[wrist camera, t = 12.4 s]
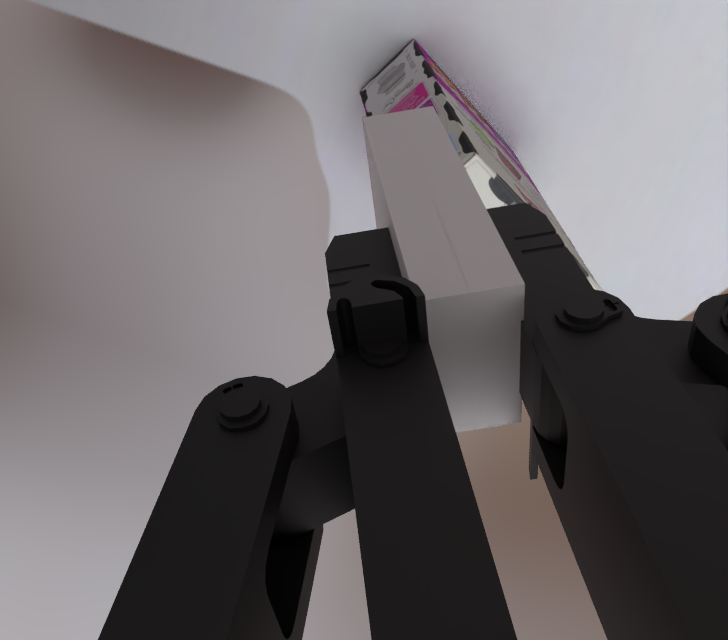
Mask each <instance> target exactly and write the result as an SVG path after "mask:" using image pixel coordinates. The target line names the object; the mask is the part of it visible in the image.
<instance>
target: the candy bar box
mask: <svg viewBox="0 0 728 640" xmlns="http://www.w3.org/2000/svg"><path fill="white" fill-rule="evenodd" d="M360 95H361V98H362V101H363V105H364V108H365V111H366V115H367V117H369V116H375V115H382V114H388V113H394V112H400V111H406V110H412V109H418V108H424V107H430V106H433V107H434V109H435V111H436V113H437V115H438V117H439V119H440V121H441V123H442V125H443V127H444V129H445V130H446V132H447V134H448V136H449V138H450V140H451V142H452V144H453V146H454V148H455V150H456V152H457V154H458V156H459V158H460V159H461V161H462V163H463V165H464V167H465V169H466V171H467V173H468V175H469V177H470V179H471V181H472V183H473V185H474V186H475V188H476V190H477V192H478V194H479V196H480V198H481V200H482V202H483V204H484V206H485V208H486V209H489V208H495V207H501V206H507V205H513V204H519V203H527V204H529V205H530V206H532V207H534V208H535V209H537V210H539V211H541V212H542V213H544V214H546V216H547V217H548V219H549V221H550V222H551V224H552V225H553V227H554V228H555V230H556V234H559V236H560V237H561V239H562V241H563V242H564V245H565V247H567V248H568V250H569V251H570V253H571V254H572V256H573V257H574V259H575V261H576V262H577V264H578V265H579V267H580V268H581V270H582V271H583V273H584V274H585V276H586V277H587V279H588V281H589V282H590V284H591V285H592V287H593V288H594V289H595V290H600V291H602V289H601V288H600V286H599V285H598V283H597V282H596V281H595V279H594V278H593V276H592V274H591V273H590V271H589V270H588V269H587V267H586V266H585V264H584V263H583V261H582V259H581V257H580V256H579V254H578V252H577V251H576V249H575V247H574V246H573V244H572V243H571V241H570V239H569V238H568V236H567V235H566V233H565V232H564V230H563V229H562V227H561V225H560V224H559V222H558V221H557V219H556V218H555V216H554V215H553V213H552V211H551V210H550V208H549V207H548V205H547V203H546V202H545V200H544V199H543V197H542V196H541V194H540V193H539V191H538V189H537V188H536V186H535V185H534V183H533V182H532V180H531V178H530V177H529V175H528V174H527V172H526V171H525V169H524V168H523V166H522V165H521V163H520V162H519V160H518V158H517V157H516V155H515V154H514V152H513V151H512V150H511V149H510V148H509V146H508V145H507V144H506V143H505V142H504V141H503V140H502V138H501V137H500V136H499V135H498V134H497V133H496V131H495V130H494V129H493V128H492V127H491V126H490V125H489V124H488V122H487V121H486V120H485V119H484V118H483V117H482V116H481V114H480V113H479V112H478V111H477V110H476V109H475V108H474V106H473V105H472V104H471V103H470V102H469V101H468V100H467V99H466V97H465V96H464V95H463V94H462V93H461V92H460V91H459V89H458V88H457V87H456V86H455V85H454V84H453V83H452V82H451V80H450V79H449V78H448V77H447V76H446V75H445V74H444V72H443V71H442V70H441V69H440V68H439V67H438V66H437V64H436V63H435V62H434V61H433V60H432V59H431V58H430V56H429V55H428V54H427V53H426V52H425V51H424V49H423V48H422V47H421V46H420V45H419V44H418V43H417V41H416V40H412V41H411V42H410V43H409V44H408V45H407V46H406V47H405V48H404V49H403V50H402V51H401V52H400V53H399V54H398V55H397V56H396V57H395V58H394V59H393V60H392V61H391V62H390V63H389V64H388V65H387V66H386V67H385V68H384V69H383V70H382V71H381V72H380V73H379V74H377V75H376V76H375V77H374V78H373V79H371V81H370V82H369V83H368V84H367V85H366V86H365V87H364V88H363V89H362V90H361V91H360Z"/></svg>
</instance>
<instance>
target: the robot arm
mask: <svg viewBox="0 0 728 640" xmlns="http://www.w3.org/2000/svg"><path fill="white" fill-rule="evenodd" d="M363 126H364V133H365V141H366V149H367V156H368V164H369V172H370V179H371V187H372V195H373V203H374V210H375V218H376V226H377V229H375V230H369V231H363V232H357V233H351V234H345V235H339V236H334V238H333V240H332V242H331V243H330V245H329V247H328V249H327V251H326V253H325V257H326V265H327V272H328V281H329V289H330V297H331V298H330V300H329V304H328V309H327V315H328V320H329V325H330V329H331V335H332V340H333V344H334V350H335V351H334V354H333V356H332V358H331V359H330V360H329V362H328V363H327V364H326V365H325V367H324V368H322V369H321V370H320V371H319V372H317V373H316V374H315V375H313V376H311V377H310V378H308V379H306V380H304V381H302V382H300V383H297V384H295V385H293V386H290V387H288V388H285V386H284V385H282V384H280V383H278V382H277V381H275V380H273V379H272V378H265V377H258V376H252V377H244V378H238V379H234V380H232V381H230V382H227V383H224V384H222V385H220V386H218V387H217V388H215V389H214V390H213V391H212V392H211V393H209V394H208V395H206V396H205V397H204V398H203V400H202V401H201V403H200V404H199V406H198V407H197V409H196V410H195V412H194V415H193V417H192V420H191V422H190V424H189V427H188V429H187V431H186V434H185V436H184V438H183V441H182V443H181V445H180V448H179V450H178V453H177V455H176V457H175V459H174V462H173V464H172V466H171V469H170V471H169V474H168V476H167V478H166V481H165V483H164V485H163V488H162V490H161V492H160V495H159V497H158V499H157V502H156V504H155V506H154V509H153V511H152V514H151V516H150V518H149V521H148V523H147V525H146V528H145V530H144V533H143V535H142V537H141V539H140V542H139V544H138V547H137V549H136V551H135V554H134V556H133V558H132V561H131V563H130V565H129V568H128V570H127V572H126V575H125V577H124V580H123V582H122V585H121V587H120V589H119V591H118V594H117V596H116V598H115V601H114V603H113V606H112V608H111V610H110V613H109V615H108V617H107V620H106V622H105V624H104V627H103V629H102V631H101V634H100V636H99V638H98V640H302V636H303V631H304V626H305V621H306V616H307V611H308V606H309V601H310V596H311V591H312V586H313V580H314V575H315V570H316V565H317V560H318V555H319V550H320V545H321V539H322V534H323V524H324V523H326V522H328V521H330V520H332V519H334V518H336V517H338V516H340V515H342V514H345V513H347V512H349V511H351V510H352V509H355V511H356V519H357V527H358V534H359V543H360V551H361V559H362V566H363V575H364V582H365V590H366V598H367V606H368V614H369V622H370V630H371V638H372V640H517V638H516V634H515V631H514V627H513V624H512V620H511V617H510V614H509V610H508V607H507V603H506V600H505V597H504V594H503V590H502V587H501V584H500V580H499V576H498V573H497V570H496V566H495V563H494V560H493V556H492V553H491V550H490V546H489V543H488V540H487V536H486V533H485V529H484V526H483V522H482V519H481V516H480V513H479V509H478V506H477V502H476V499H475V496H474V492H473V489H472V485H471V482H470V479H469V475H468V472H467V469H466V465H465V462H464V459H463V455H462V452H461V449H460V445H459V442H458V438H457V435H456V433H458V432H464V431H469V430H476V429H482V428H487V427H493V426H499V425H505V424H511V423H517V422H521V412H522V400H523V402H524V404H525V407H526V409H527V412H528V414H529V416H530V419H531V427H530V452H529V472H530V479H537V475H538V465H539V468H540V470H541V472H542V475H543V477H544V480H545V483H546V485H547V488H548V490H549V493H550V495H551V498H552V500H553V503H554V505H555V508H556V510H557V513H558V515H559V518H560V521H561V523H562V526H563V528H564V531H565V533H566V536H567V538H568V541H569V543H570V546H571V548H572V551H573V553H574V556H575V558H576V561H577V563H578V566H579V569H580V571H581V574H582V576H583V579H584V581H585V583H586V586H587V589H588V591H589V594H590V596H591V599H592V601H593V604H594V606H595V609H596V611H597V614H598V616H599V619H600V622H601V624H602V626H603V629H604V631H605V634H606V637H607V639H608V640H728V294H723V295H718V296H713V297H711V298H709V299H707V300H706V301H704V302H702V303H701V304H700V305H699V307H698V308H697V310H696V312H695V314H694V318H693V321H674V320H655V319H647V318H640V317H636V316H634V314H633V313H632V311H631V310H630V308H629V307H628V306H627V305H626V304H624V303H623V302H622V301H621V300H620V299H619V298H617V297H615V296H613V295H611V294H609V293H606V292H604V291H600V290H595V289H594V288H593V287H592V285H591V284H590V282H589V281H588V279H587V277H586V276H585V274H584V273H583V271H582V270H581V268H580V267H579V265H578V264H577V262H576V261H575V259H574V257H573V256H572V254H571V253H570V251H569V250H568V248H567V247H565V245H564V242H563V241H562V239H561V237H560V236H559V234H556V230H555V228H554V227H553V225H552V224H551V222H550V221H549V219H548V217H547V216H546V214H544V213H542V212H541V211H539V210H537V209H535V208H534V207H532V206H530V205H529V204H527V203H519V204H513V205H507V206H501V207H495V208H489V209H486V208H485V206H484V204H483V202H482V200H481V198H480V196H479V194H478V192H477V190H476V188H475V186H474V185H473V183H472V181H471V179H470V177H469V175H468V173H467V171H466V169H465V167H464V165H463V163H462V161H461V159H460V158H459V156H458V154H457V152H456V150H455V148H454V146H453V144H452V142H451V140H450V138H449V136H448V134H447V132H446V130H445V129H444V127H443V125H442V123H441V121H440V119H439V117H438V115H437V113H436V111H435V109H434V107H433V106H430V107H424V108H418V109H412V110H406V111H400V112H394V113H388V114H382V115H375V116H369V117H363Z"/></svg>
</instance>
